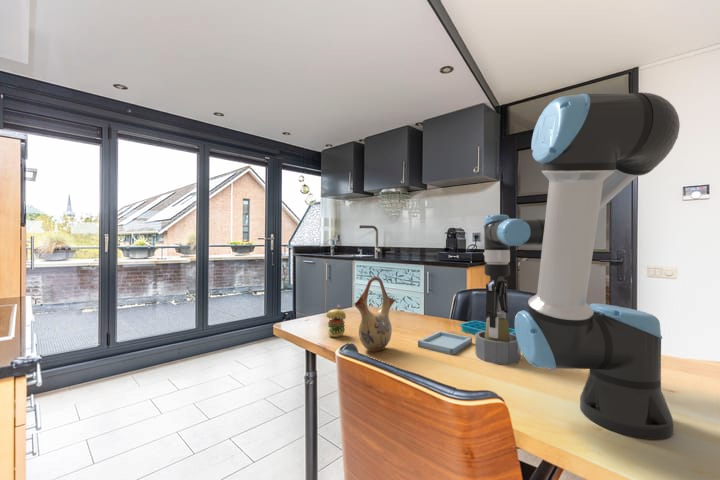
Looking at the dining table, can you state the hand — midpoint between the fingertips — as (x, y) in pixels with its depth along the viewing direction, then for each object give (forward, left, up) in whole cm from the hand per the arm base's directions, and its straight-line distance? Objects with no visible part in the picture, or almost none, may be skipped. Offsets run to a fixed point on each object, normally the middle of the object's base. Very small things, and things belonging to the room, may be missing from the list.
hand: (497, 334), depth 104 cm
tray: (0, +18, -7) cm, 19 cm away
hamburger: (-17, +56, -7) cm, 59 cm away
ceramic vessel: (-20, +34, -7) cm, 40 cm away
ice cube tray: (+23, +11, -8) cm, 27 cm away
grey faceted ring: (0, 0, -7) cm, 7 cm away
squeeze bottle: (0, 0, -7) cm, 7 cm away
